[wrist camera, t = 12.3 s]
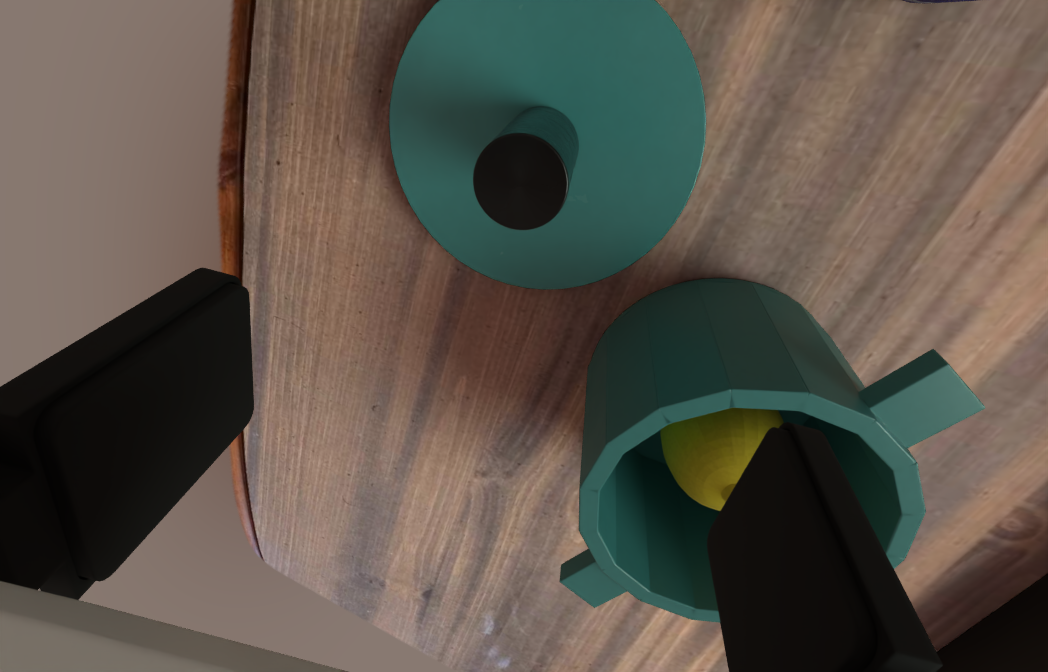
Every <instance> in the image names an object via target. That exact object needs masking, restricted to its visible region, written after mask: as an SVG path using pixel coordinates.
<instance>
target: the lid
mask: <svg viewBox="0 0 1048 672" xmlns="http://www.w3.org/2000/svg"><path fill="white" fill-rule="evenodd" d="M389 131H390V143H391V150H392V155H393V160H394V165H395V169H396V172H397V175H398V178H399V181H400V184H401V187H402V189H403V191H404V193H405V195H406V197H407V199H408V202H409V204H410V206H411V207H412V209H413V211H414V212H415V214H416V215H417V217H418V219H419V220H420V222H421V223H422V224H423V226H424V227H425V228H426V229H427V231H428V232H429V233H430V234H431V236H432V237H433V238H434V239H435V240H436V241H437V242H438V243H439V244H440V245H441V246H442V247H443V248H444V249H445V250H446V251H448V252H449V253H450V254H451V255H453V256H454V257H455V258H456V259H458V260H459V261H460V262H462V263H463V264H465V265H467V266H468V267H470V268H472V269H473V270H475V271H477V272H479V273H481V274H483V275H485V276H487V277H489V278H492V279H494V280H497V281H500V282H503V283H506V284H510V285H514V286H519V287H524V288H532V289H544V290H546V289H565V288H571V287H578V286H583V285H586V284H590V283H593V282H597V281H600V280H602V279H604V278H607V277H609V276H611V275H614V274H616V273H618V272H619V271H621V270H623V269H625V268H626V267H628V266H630V265H632V264H633V263H634V262H636V261H637V260H638V259H640V258H641V257H642V256H644V255H645V254H646V253H648V252H649V251H650V250H651V249H652V248H653V247H654V246H655V245H656V244H657V243H658V242H659V241H660V240H661V239H662V238H663V237H664V236H665V234H666V233H667V232H668V231H669V229H670V228H671V227H672V226H673V224H674V223H675V222H676V220H677V218H678V217H679V215H680V214H681V212H682V210H683V209H684V207H685V206H686V203H687V201H688V199H689V197H690V195H691V193H692V190H693V188H694V186H695V183H696V180H697V177H698V173H699V170H700V167H701V163H702V157H703V152H704V147H705V135H706V111H705V99H704V93H703V89H702V84H701V79H700V75H699V72H698V69H697V66H696V64H695V61H694V58H693V55H692V52H691V51H690V49H689V47H688V45H687V43H686V41H685V39H684V37H683V35H682V33H681V31H680V30H679V29H678V27H677V26H676V24H675V23H674V22H673V20H672V19H671V18H670V16H669V15H668V13H667V12H666V11H665V10H664V9H663V8H662V7H661V6H660V5H659V4H658V3H657V2H656V1H655V0H439V1H438V2H436V3H435V4H434V6H433V7H432V8H431V9H430V10H429V12H428V13H427V14H426V15H425V17H424V18H423V19H422V20H421V22H420V23H419V25H418V26H417V28H416V30H415V31H414V33H413V35H412V36H411V38H410V40H409V41H408V43H407V46H406V48H405V50H404V52H403V55H402V57H401V59H400V62H399V65H398V68H397V72H396V75H395V79H394V82H393V87H392V94H391V100H390V113H389Z"/></svg>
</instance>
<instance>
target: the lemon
mask: <svg viewBox="0 0 1048 672" xmlns="http://www.w3.org/2000/svg"><path fill="white" fill-rule="evenodd" d="M783 423H784V422H783V419H782V417H781V415H780V413H779V411H778V410H769V409H750V408H729V409H725V410H721V411H717V412H713V413H709V414H706V415H702V416H698V417H694V418H690V419H686V420H682V421H678V422H674V423H670V424H668V425H667V426H665V427H664V428H662V429H661V430H660V436H661V443H662V449H663V454H664V457H665V460H666V463H667V465H668V467H669V469H670V471H671V473H672V475H673V476H674V478H675V480H676V482H677V483H678V485H679V486H680V487H681V488H682V489H683V490H684V491H685V492H686V493H687V494H688V496H689V497H691V498H692V499H693V500H695V501H697V502H698V503H700V504H702V505H704V506H706V507H709V508H712V509H715V510H718V511H721V509H722V507H723V506H724V504H725V502H726V501H727V499H728V497H729V496H730V494H731V492H732V490H733V489H734V487H735V485H736V484H737V482H738V480H739V479H740V477H741V475H742V473H743V472H744V470H745V468H746V467H747V465H748V463H749V462H750V460H751V458H752V456H753V455H754V453H755V451H756V450H757V448H758V446H759V445H760V443H761V441H762V439H763V438H764V436H765V434H766V433H767V431H768V430H769V429H770V428H772V427H776V428H779V427H780V425H782V424H783Z"/></svg>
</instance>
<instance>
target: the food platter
mask: <svg viewBox="0 0 1048 672" xmlns="http://www.w3.org/2000/svg"><path fill="white" fill-rule="evenodd" d="M937 654H938V656H939V658H940V660H941V662H942V664H943V666H942V667H940V668H939V669H938V670H937V672H1048V575H1046V576H1045V577H1043V578H1042V579H1040V580H1039V581H1038V582H1036V583H1035V584H1033V585H1032V586H1031V587H1029V588H1028V589H1026V590H1025V591H1024V592H1022V593H1021V594H1019V595H1018V596H1016V597H1015V598H1014V599H1012V600H1011V601H1009V602H1008V603H1007V604H1005V605H1004V606H1002V607H1001V608H999V609H998V610H997V611H995V612H994V613H992V614H991V615H990V616H988V617H987V618H985V619H984V620H983V621H981V622H980V623H978V624H977V625H975V626H974V627H973V628H971V629H970V630H968V631H967V632H966V633H964V634H963V635H961V636H960V637H959V638H957V639H956V640H954V641H953V642H951V643H950V644H949V645H947V646H946V647H944V648H943V649H942V650H940V651H939V652H937Z"/></svg>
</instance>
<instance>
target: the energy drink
mask: <svg viewBox="0 0 1048 672" xmlns="http://www.w3.org/2000/svg"><path fill="white" fill-rule="evenodd" d="M903 1H906V2H910V3H942V2H959V1H976V0H903Z"/></svg>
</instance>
